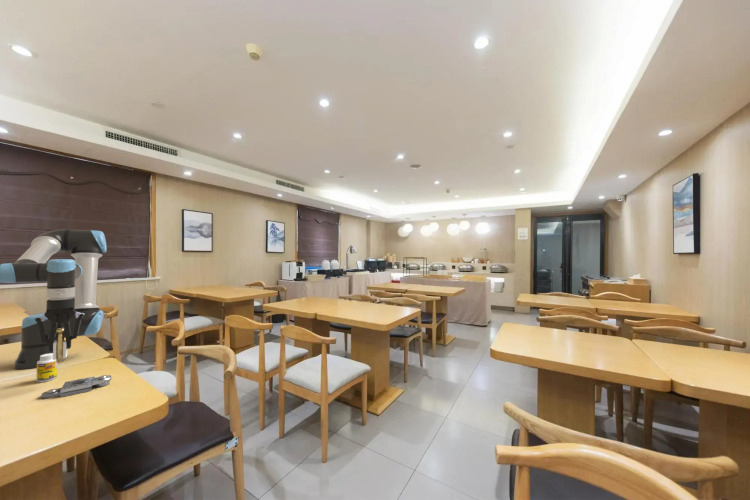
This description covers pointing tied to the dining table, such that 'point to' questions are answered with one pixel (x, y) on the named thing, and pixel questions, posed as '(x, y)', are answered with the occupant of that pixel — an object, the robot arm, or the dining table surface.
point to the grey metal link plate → (77, 386)
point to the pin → (60, 344)
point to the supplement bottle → (46, 368)
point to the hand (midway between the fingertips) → (60, 357)
